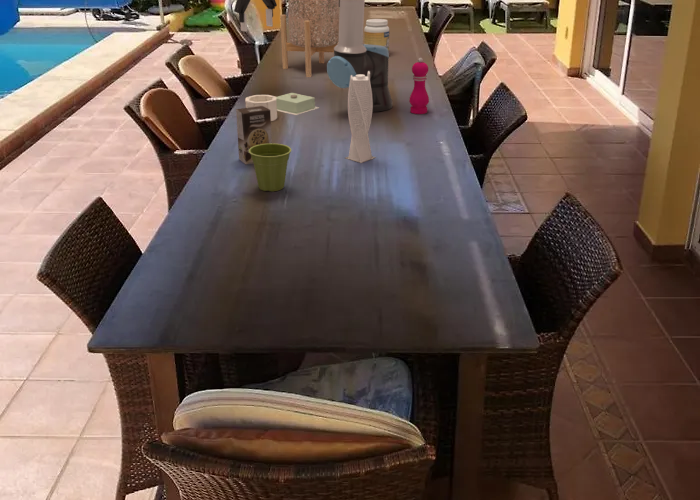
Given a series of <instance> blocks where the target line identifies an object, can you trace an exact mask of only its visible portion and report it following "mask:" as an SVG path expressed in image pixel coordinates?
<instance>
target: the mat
mask: <svg viewBox="0 0 700 500" xmlns="http://www.w3.org/2000/svg"><path fill="white" fill-rule="evenodd" d="M318 109H320V107H318V106H315V108H314V109H310V110H307V111H304V112H301V113H298V114H296V113H292V112H287V111H283V110H279V109H277V112H281V113H285V114H289V115H294V116H298V115H302V114H304V113H308V112H310V111H314V110H318Z"/></svg>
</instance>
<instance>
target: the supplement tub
mask: <svg viewBox="0 0 700 500" xmlns="http://www.w3.org/2000/svg"><path fill="white" fill-rule="evenodd" d="M365 22H366V23H365V26H364V27H363V44H369V45H380V46H384V47H386V48H387V49H388V56H389V55H390V27H389V26H388V25H389V21H388V19H383V18H369V19H367V20H366V21H365Z"/></svg>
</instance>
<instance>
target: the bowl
mask: <svg viewBox="0 0 700 500" xmlns="http://www.w3.org/2000/svg"><path fill="white" fill-rule="evenodd" d="M276 97H277V96H274V95H270V94H255V95H250V96H247V97H245V101H244V102H245V108H249V107H257V106H264V107H266V108H268V109H269V110H270V115H271V122H274V121H276V120H278V111H277V101H276Z"/></svg>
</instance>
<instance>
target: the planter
mask: <svg viewBox="0 0 700 500" xmlns="http://www.w3.org/2000/svg"><path fill="white" fill-rule="evenodd" d="M287 2H288V28H289V29H288V30H289V42H288V35H287V34H288V33H287V32H288V31H287V15H286V14H280V34H281V35H280V36H281V37H280V40H281V41H280V42H281V61H282V62H281V64H282V69H283V70H288V69H289V57H288V55H289V54H288V52H304V56H305V57H304V59H305V60H304V61H305V77H306V78H311V77H312V56H314V54H316V53H318V63H319V64H325V53H334V47H335V46H336V45H337V44H338V42H339V13H340V0H288V1H287Z"/></svg>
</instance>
